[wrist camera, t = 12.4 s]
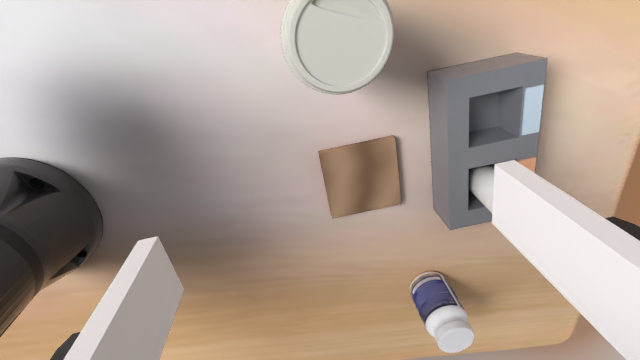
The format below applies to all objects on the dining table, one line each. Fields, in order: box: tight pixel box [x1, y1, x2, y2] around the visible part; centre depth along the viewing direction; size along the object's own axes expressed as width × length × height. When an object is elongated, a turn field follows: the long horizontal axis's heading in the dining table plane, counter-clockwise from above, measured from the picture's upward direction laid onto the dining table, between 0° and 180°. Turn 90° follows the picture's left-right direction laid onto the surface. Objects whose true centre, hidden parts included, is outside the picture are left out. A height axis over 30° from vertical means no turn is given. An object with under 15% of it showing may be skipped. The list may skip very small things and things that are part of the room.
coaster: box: [318, 135, 401, 219], centre depth 42 cm, size 9×9×1 cm
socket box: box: [427, 53, 547, 230], centre depth 40 cm, size 10×18×5 cm, turn 11°
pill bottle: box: [410, 271, 474, 353], centre depth 48 cm, size 6×6×10 cm
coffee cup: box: [281, 0, 394, 95], centre depth 30 cm, size 8×8×12 cm
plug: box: [468, 164, 495, 213], centre depth 37 cm, size 4×4×12 cm
